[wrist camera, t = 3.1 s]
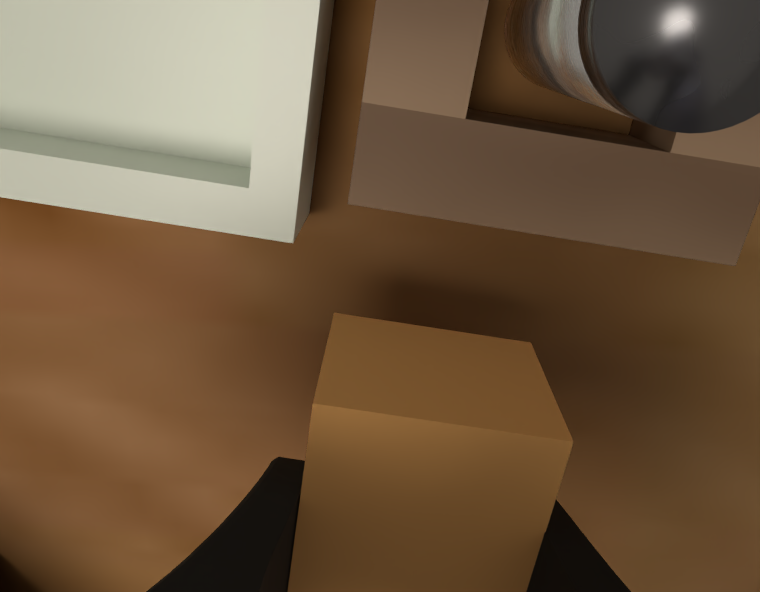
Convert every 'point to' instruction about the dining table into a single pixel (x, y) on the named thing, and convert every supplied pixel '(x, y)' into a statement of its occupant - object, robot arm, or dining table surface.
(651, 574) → the dining table surface
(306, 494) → the block
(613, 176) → the socket block
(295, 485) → the robot arm
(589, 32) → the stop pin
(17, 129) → the tray
